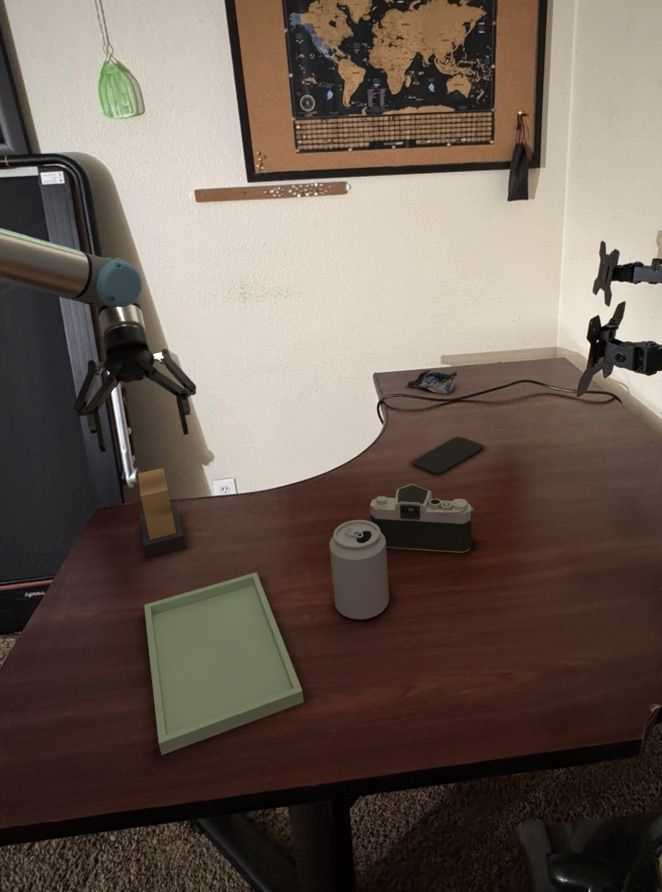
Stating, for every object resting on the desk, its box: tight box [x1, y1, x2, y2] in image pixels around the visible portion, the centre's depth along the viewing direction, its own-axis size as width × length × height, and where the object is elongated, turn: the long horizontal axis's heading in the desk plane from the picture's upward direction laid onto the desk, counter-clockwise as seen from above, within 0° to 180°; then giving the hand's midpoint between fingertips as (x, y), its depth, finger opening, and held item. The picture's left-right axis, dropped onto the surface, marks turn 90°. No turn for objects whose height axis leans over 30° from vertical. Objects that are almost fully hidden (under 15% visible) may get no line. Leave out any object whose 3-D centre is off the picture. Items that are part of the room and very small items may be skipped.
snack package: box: [407, 369, 458, 395], centre depth 162 cm, size 12×6×12 cm
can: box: [329, 519, 390, 620], centre depth 85 cm, size 8×8×12 cm
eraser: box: [137, 467, 187, 560], centre depth 102 cm, size 10×6×11 cm, turn 23°
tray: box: [143, 572, 305, 756], centre depth 79 cm, size 24×16×2 cm, turn 23°
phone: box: [411, 436, 484, 476], centre depth 126 cm, size 7×1×15 cm
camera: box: [369, 483, 475, 554], centre depth 99 cm, size 16×9×10 cm, turn 80°
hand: (145, 440), depth 108 cm, fingers open, 13 cm apart
